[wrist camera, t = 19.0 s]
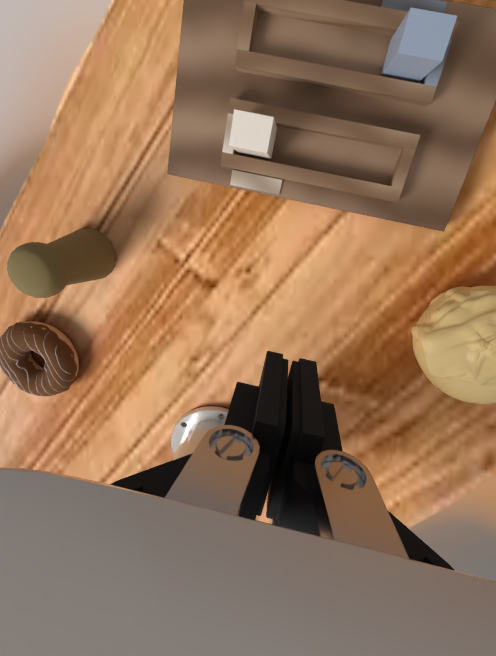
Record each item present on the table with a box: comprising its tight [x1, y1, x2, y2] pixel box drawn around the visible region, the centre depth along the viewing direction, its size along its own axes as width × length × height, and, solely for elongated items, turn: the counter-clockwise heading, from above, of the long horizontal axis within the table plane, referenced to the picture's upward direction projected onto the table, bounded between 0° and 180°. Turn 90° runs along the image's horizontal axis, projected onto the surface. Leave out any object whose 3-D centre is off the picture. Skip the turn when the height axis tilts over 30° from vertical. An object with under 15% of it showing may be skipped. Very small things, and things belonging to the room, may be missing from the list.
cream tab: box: [229, 109, 277, 159], centre depth 31 cm, size 3×3×6 cm
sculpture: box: [411, 286, 496, 404], centre depth 35 cm, size 11×12×11 cm
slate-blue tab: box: [381, 8, 457, 83], centre depth 27 cm, size 3×3×6 cm
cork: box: [7, 228, 116, 298], centre depth 37 cm, size 6×6×11 cm
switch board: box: [168, 0, 496, 231], centre depth 32 cm, size 17×28×3 cm, turn 79°
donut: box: [0, 321, 79, 396], centre depth 46 cm, size 11×11×4 cm
